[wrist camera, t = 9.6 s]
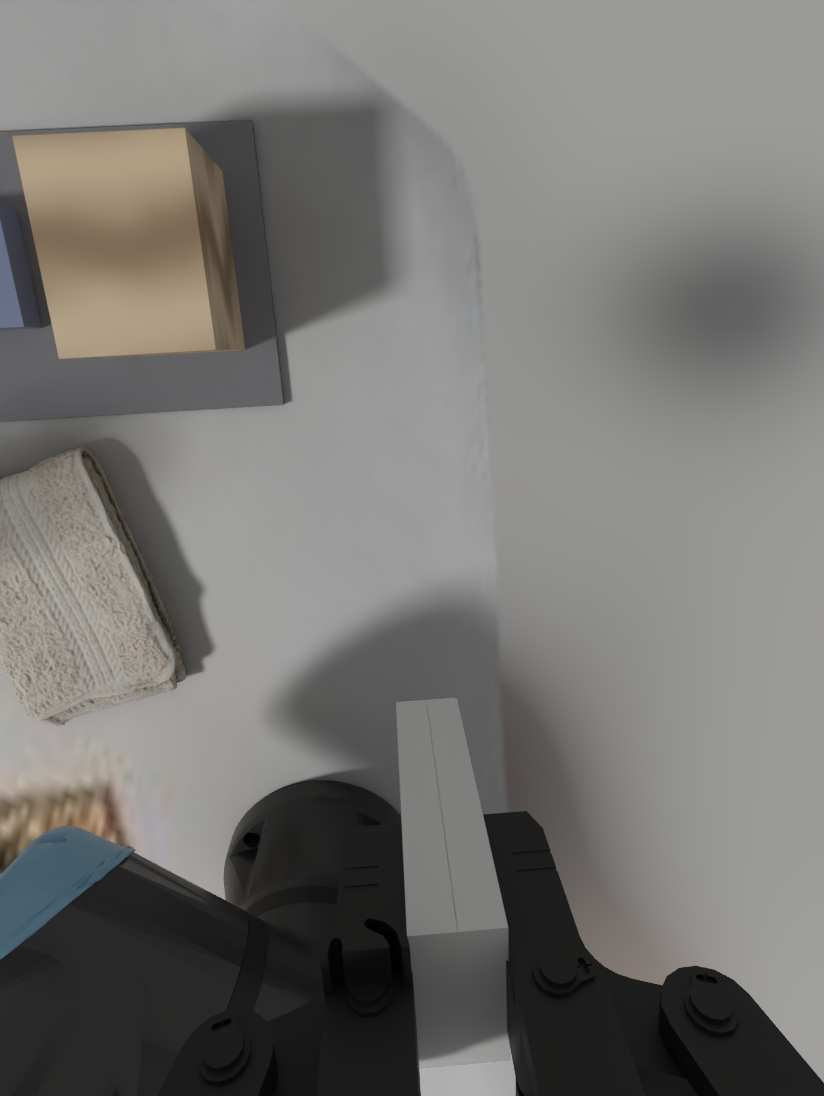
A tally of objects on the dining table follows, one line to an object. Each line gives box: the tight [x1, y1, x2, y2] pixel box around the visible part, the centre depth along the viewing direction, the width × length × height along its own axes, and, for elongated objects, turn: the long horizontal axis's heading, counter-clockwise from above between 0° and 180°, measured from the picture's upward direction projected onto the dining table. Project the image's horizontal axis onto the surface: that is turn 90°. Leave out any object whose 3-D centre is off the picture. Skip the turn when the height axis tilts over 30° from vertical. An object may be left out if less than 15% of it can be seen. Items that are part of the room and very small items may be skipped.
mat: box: [0, 120, 284, 422], centre depth 39 cm, size 16×24×1 cm, turn 93°
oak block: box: [12, 128, 245, 359], centre depth 35 cm, size 10×8×8 cm
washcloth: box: [0, 446, 186, 725], centre depth 44 cm, size 12×18×3 cm, turn 17°
